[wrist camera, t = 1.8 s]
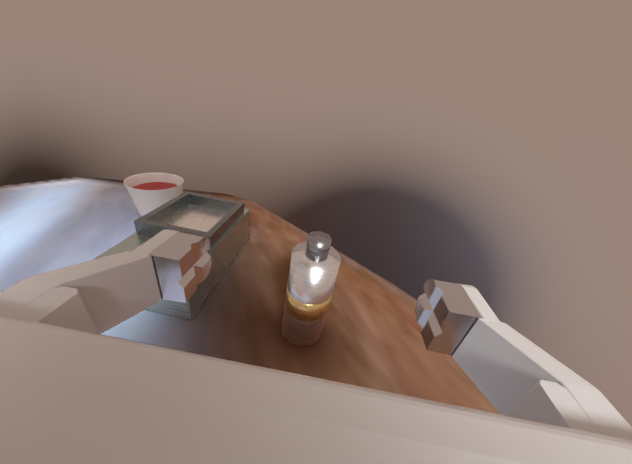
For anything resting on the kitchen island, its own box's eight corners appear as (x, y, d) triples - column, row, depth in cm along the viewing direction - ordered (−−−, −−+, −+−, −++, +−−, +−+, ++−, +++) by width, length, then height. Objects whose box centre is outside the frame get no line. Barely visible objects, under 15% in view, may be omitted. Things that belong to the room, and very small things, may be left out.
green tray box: (102, 300, 27) (79, 245, 23) (191, 227, 43) (187, 186, 39) (191, 319, 27) (183, 266, 23) (248, 239, 43) (249, 199, 39)
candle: (152, 199, 50) (146, 169, 46) (195, 206, 50) (192, 177, 47) (119, 218, 42) (109, 184, 39) (171, 227, 42) (165, 193, 39)
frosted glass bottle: (276, 342, 26) (288, 246, 20) (286, 308, 31) (299, 220, 24) (319, 351, 26) (345, 258, 20) (323, 316, 31) (346, 230, 24)
